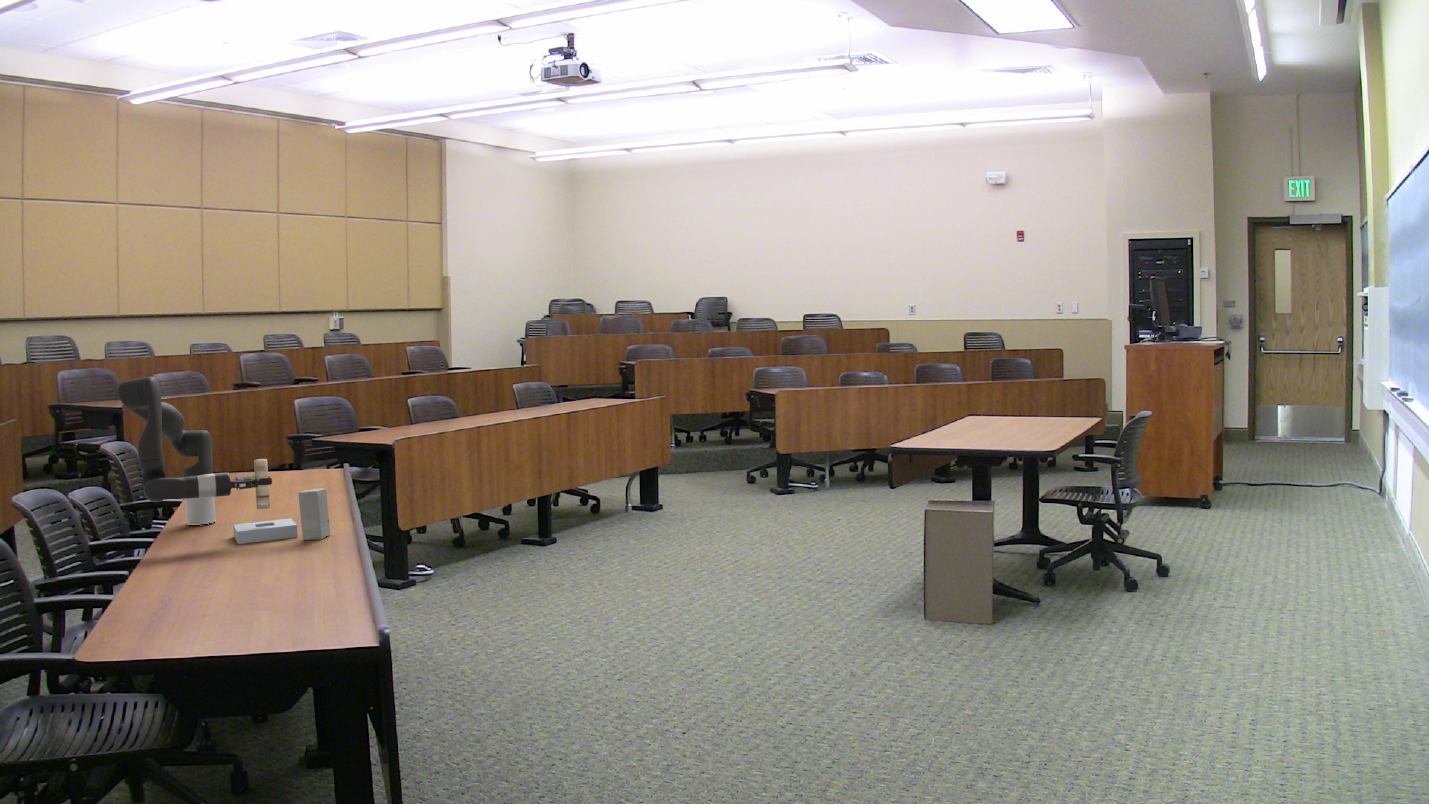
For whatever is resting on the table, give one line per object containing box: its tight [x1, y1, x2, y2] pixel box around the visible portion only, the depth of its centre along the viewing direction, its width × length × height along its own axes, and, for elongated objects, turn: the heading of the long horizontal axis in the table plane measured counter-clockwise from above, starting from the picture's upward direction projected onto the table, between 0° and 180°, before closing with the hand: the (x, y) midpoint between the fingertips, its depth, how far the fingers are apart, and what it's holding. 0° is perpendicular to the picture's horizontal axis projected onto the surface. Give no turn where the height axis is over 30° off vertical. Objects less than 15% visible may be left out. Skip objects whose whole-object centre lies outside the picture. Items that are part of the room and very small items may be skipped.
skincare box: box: [298, 487, 331, 541], centre depth 350 cm, size 8×7×16 cm
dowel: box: [253, 458, 271, 510], centre depth 353 cm, size 4×4×16 cm
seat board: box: [232, 517, 299, 545], centre depth 355 cm, size 14×18×4 cm
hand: (270, 480), depth 354 cm, fingers closed on dowel, 4 cm apart
